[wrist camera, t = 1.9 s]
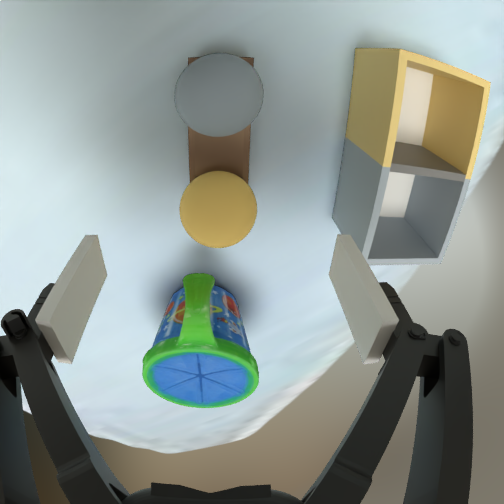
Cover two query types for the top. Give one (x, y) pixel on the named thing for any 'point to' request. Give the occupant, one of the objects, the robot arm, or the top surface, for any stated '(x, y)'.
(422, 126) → the tube block
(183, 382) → the snack cup
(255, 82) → the slate ball
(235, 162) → the rack
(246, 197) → the ochre ball
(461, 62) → the top surface
